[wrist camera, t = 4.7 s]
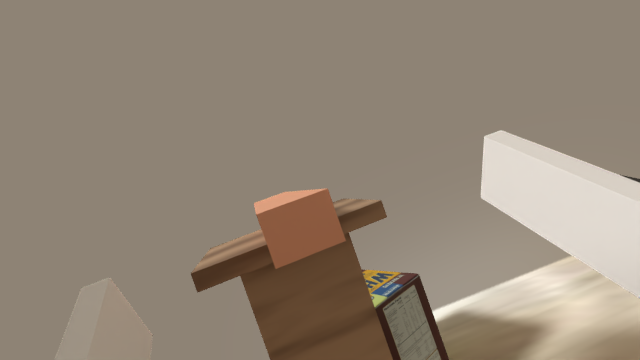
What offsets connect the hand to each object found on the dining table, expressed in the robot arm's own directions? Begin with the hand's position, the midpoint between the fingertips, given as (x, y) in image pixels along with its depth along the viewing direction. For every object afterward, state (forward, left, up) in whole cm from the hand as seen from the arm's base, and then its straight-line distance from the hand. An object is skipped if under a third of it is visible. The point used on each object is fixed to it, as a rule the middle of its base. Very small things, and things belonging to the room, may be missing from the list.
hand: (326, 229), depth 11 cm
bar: (+8, +16, -2) cm, 18 cm away
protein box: (+26, +30, -32) cm, 51 cm away
